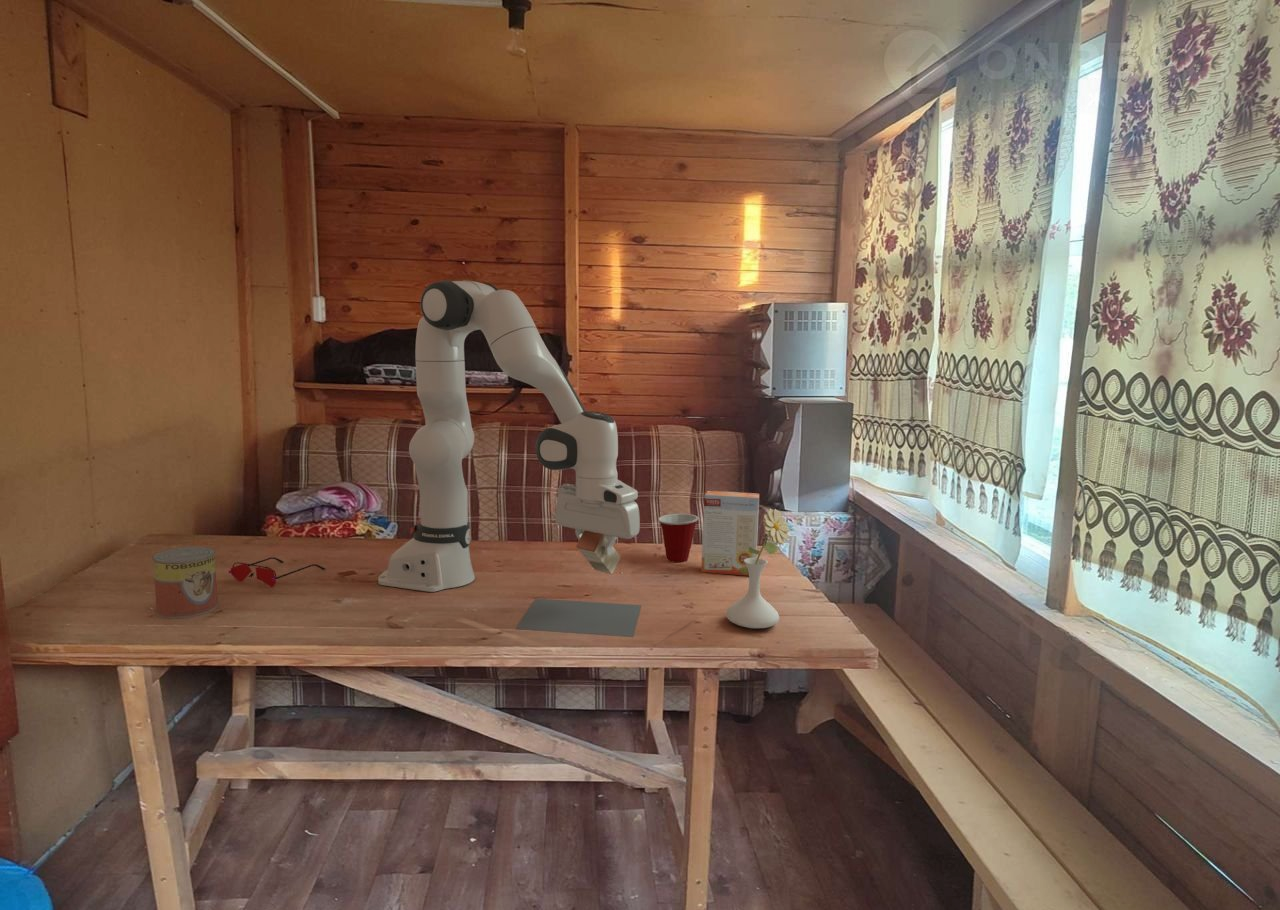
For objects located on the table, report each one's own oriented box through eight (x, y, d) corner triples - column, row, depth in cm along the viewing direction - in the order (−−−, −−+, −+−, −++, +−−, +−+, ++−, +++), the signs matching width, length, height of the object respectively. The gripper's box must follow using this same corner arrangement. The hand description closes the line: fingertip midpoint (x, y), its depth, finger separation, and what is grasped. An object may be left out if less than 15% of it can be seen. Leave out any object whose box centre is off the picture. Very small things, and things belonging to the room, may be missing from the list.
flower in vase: (743, 636, 155) (749, 517, 151) (715, 617, 165) (721, 505, 161) (796, 628, 160) (804, 513, 156) (766, 610, 170) (773, 501, 166)
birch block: (612, 574, 164) (592, 549, 157) (595, 570, 167) (575, 546, 160) (620, 556, 166) (602, 532, 159) (604, 553, 169) (585, 528, 162)
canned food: (176, 622, 152) (172, 565, 151) (144, 611, 158) (140, 555, 156) (229, 606, 162) (226, 552, 160) (198, 595, 168) (195, 543, 166)
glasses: (227, 582, 178) (226, 561, 177) (282, 563, 193) (281, 544, 193) (274, 590, 173) (273, 569, 173) (326, 570, 189) (325, 551, 188)
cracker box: (755, 570, 199) (760, 492, 196) (755, 577, 193) (759, 497, 190) (702, 566, 201) (706, 489, 198) (700, 572, 195) (704, 493, 192)
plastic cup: (656, 553, 212) (658, 511, 210) (695, 554, 211) (697, 512, 210) (656, 564, 201) (658, 520, 199) (696, 566, 201) (699, 522, 199)
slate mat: (515, 632, 153) (515, 628, 153) (535, 601, 170) (535, 598, 170) (633, 640, 151) (633, 636, 151) (641, 608, 168) (641, 605, 168)
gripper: (549, 484, 163) (548, 546, 165) (627, 497, 152) (626, 563, 154) (567, 480, 168) (567, 540, 170) (644, 492, 157) (642, 556, 159)
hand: (595, 551), depth 162 cm, fingers closed on birch block, 4 cm apart
